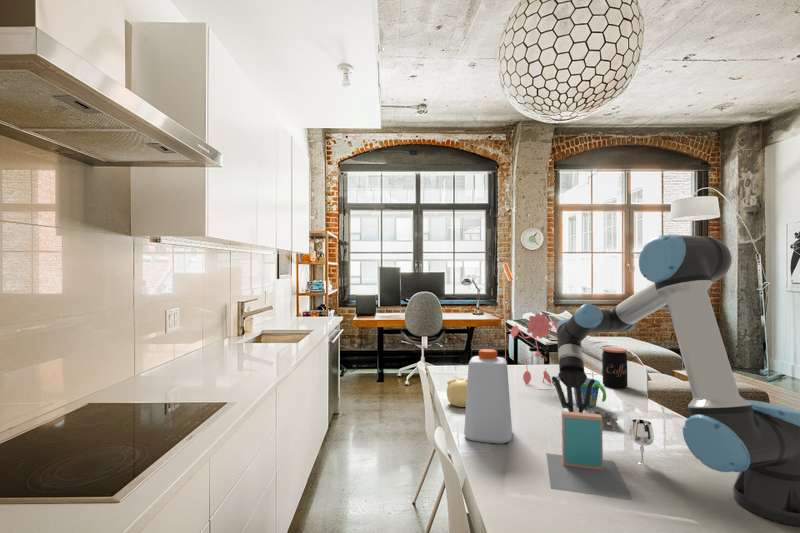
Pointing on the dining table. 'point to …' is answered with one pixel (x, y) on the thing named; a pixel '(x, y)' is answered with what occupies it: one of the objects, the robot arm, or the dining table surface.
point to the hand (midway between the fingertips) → (577, 430)
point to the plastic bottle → (488, 399)
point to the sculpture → (457, 392)
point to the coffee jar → (614, 367)
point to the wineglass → (641, 434)
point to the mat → (587, 478)
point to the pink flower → (540, 329)
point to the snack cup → (593, 393)
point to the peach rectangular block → (582, 440)
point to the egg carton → (605, 417)
